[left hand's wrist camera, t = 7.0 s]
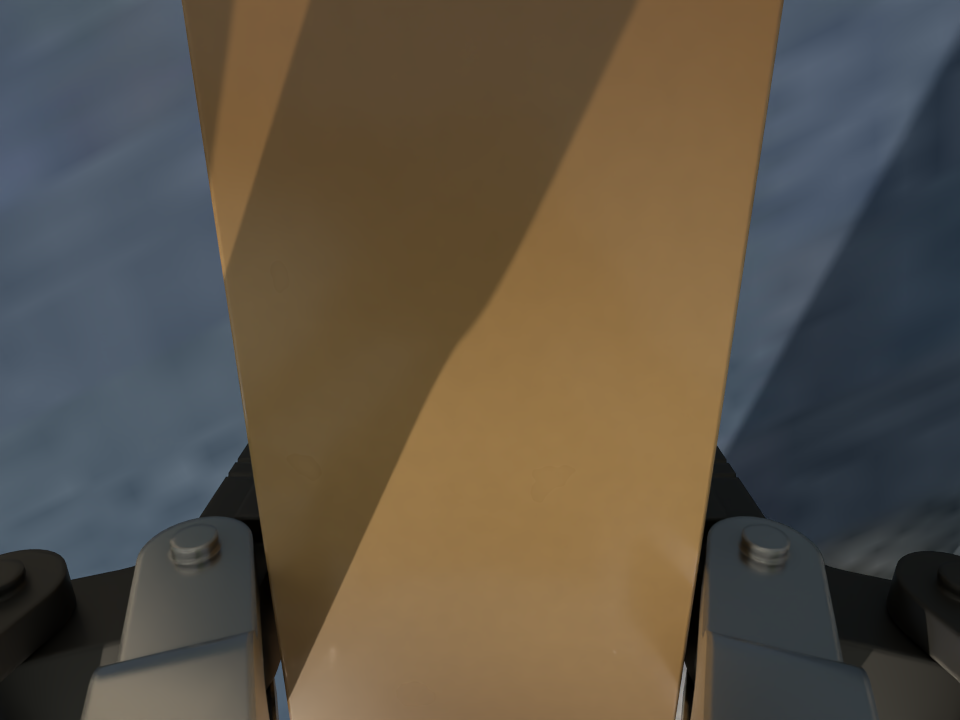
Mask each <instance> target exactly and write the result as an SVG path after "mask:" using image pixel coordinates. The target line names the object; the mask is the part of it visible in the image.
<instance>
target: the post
mask: <svg viewBox="0 0 960 720" xmlns="http://www.w3.org/2000/svg"><path fill="white" fill-rule="evenodd" d="M783 2H784V0H182V6H183V12H184V19H185V26H186V32H187V39H188V46H189V52H190V59H191V66H192V72H193V79H194V85H195V92H196V99H197V105H198V112H199V119H200V125H201V132H202V138H203V145H204V152H205V158H206V165H207V172H208V178H209V185H210V192H211V198H212V205H213V211H214V218H215V225H216V231H217V238H218V245H219V251H220V258H221V264H222V271H223V278H224V284H225V291H226V298H227V304H228V311H229V318H230V324H231V331H232V337H233V344H234V351H235V357H236V364H237V371H238V377H239V384H240V390H241V397H242V404H243V410H244V417H245V424H246V430H247V437H248V444H249V450H250V457H251V463H252V470H253V477H254V483H255V490H256V497H257V503H258V510H259V516H260V523H261V530H262V536H263V543H264V550H265V556H266V563H267V570H268V576H269V583H270V589H271V596H272V603H273V609H274V616H275V623H276V629H277V636H278V643H279V649H280V656H281V662H282V669H283V676H284V682H285V689H286V696H287V702H288V709H289V715H290V720H675V718H676V712H677V705H678V698H679V692H680V685H681V678H682V672H683V665H684V659H685V652H686V645H687V639H688V632H689V625H690V619H691V612H692V605H693V599H694V592H695V586H696V579H697V572H698V566H699V559H700V552H701V546H702V539H703V533H704V526H705V519H706V513H707V506H708V499H709V493H710V486H711V479H712V473H713V466H714V460H715V453H716V446H717V440H718V433H719V426H720V420H721V413H722V406H723V400H724V393H725V387H726V380H727V373H728V367H729V360H730V353H731V347H732V340H733V333H734V327H735V320H736V314H737V307H738V300H739V294H740V287H741V280H742V274H743V267H744V261H745V254H746V247H747V241H748V234H749V227H750V221H751V214H752V207H753V201H754V194H755V188H756V181H757V174H758V168H759V161H760V154H761V148H762V141H763V134H764V128H765V121H766V115H767V108H768V101H769V95H770V88H771V81H772V75H773V68H774V61H775V55H776V48H777V42H778V35H779V28H780V22H781V15H782V8H783Z"/></svg>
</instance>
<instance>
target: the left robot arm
mask: <svg viewBox="0 0 960 720" xmlns="http://www.w3.org/2000/svg"><path fill="white" fill-rule="evenodd" d="M280 660H281V656H280V649H279V643H278V636H277V629H276V623H275V616H274V609H273V603H272V596H271V589H270V583H269V576H268V570H267V563H266V556H265V550H264V543H263V536H262V530H261V523H260V516H259V510H258V503H257V497H256V490H255V483H254V477H253V470H252V463H251V457H250V450H249V444H247V446H246V447H245V449H244V450H243V452H242V453H241V455H240V456H239V458H238V462H235V464H234V466H233V467H232V469H231V470H230V472H229V476H228V477H226V478H225V479H224V481H223V482H222V484H221V485H220V487H219V488H218V490H217V491H216V493H215V494H214V496H213V497H212V499H211V501H210V502H209V504H208V505H207V507H206V508H205V510H204V511H203V513H202V514H201V516H200V517H199V518H196V519H191V520H188V521H184V522H181V523H178V524H176V525H174V526H171V527H169V528H167V529H165V530H164V531H162V532H160V533H159V534H157V535H156V536H154V537H153V538H152V539H151V540H149V541H148V542H147V543H146V544H145V546H144V547H143V548H142V549H141V551H140V553H139V554H138V557H137V561H136V566H133V567H129V568H125V569H121V570H117V571H112V572H107V573H102V574H97V575H92V576H88V577H83V578H78V579H73V580H71V579H70V576H69V572H68V569H67V565H66V563H65V560H64V559H63V558H62V557H61V556H60V555H59V554H57V553H55V552H52V551H48V550H41V549H29V550H20V551H14V552H9V553H5V554H2V555H0V720H279V715H278V702H277V691H276V685H275V678H274V677H275V674H276V672H277V669H278V666H279V663H280ZM684 661H685V664H686V667H687V672H686V678H685V685H684V691H683V702H682V715H681V720H960V556H958V555H954V554H949V553H944V552H935V551H921V552H914V553H910V554H907V555H905V556H904V557H902V558H901V559H900V560H899V561H898V563H897V566H896V569H895V572H894V576H893V579H892V580H887V579H882V578H878V577H873V576H868V575H863V574H858V573H853V572H848V571H844V570H840V569H836V568H832V567H829V566H826V565H824V561H823V557H822V555H821V553H820V551H819V549H818V548H817V547H816V546H815V544H814V543H813V542H812V541H811V540H809V539H808V538H807V537H806V536H804V535H803V534H801V533H800V532H798V531H796V530H795V529H793V528H791V527H789V526H786V525H784V524H782V523H779V522H776V521H772V520H769V519H766V518H765V517H764V515H763V514H762V512H761V511H760V509H759V508H758V506H757V505H756V503H755V502H754V500H753V499H752V497H751V496H750V494H749V493H748V491H747V490H746V488H745V487H744V485H743V484H742V482H741V481H740V479H739V478H736V473H735V472H734V470H733V469H732V467H731V466H730V464H729V463H726V458H725V457H724V455H723V454H722V452H721V451H720V449H719V448H718V446H716V453H715V460H714V466H713V473H712V479H711V486H710V493H709V499H708V506H707V513H706V519H705V526H704V533H703V539H702V546H701V552H700V559H699V566H698V572H697V579H696V586H695V592H694V599H693V605H692V612H691V619H690V625H689V632H688V639H687V645H686V652H685V659H684Z"/></svg>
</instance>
